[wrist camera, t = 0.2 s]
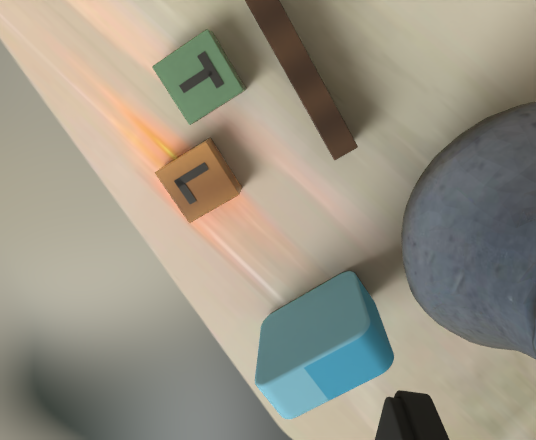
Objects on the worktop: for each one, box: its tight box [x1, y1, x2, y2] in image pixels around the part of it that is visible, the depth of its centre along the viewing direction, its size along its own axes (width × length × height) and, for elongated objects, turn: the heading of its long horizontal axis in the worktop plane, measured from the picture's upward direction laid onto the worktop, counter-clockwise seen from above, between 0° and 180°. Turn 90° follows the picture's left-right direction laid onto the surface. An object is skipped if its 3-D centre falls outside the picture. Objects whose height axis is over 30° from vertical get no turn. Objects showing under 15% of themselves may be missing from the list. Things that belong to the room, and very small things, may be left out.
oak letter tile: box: [155, 138, 242, 223], centre depth 43 cm, size 6×6×3 cm
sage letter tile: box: [153, 29, 246, 125], centre depth 40 cm, size 6×6×3 cm
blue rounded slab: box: [255, 271, 394, 419], centre depth 43 cm, size 12×4×12 cm, turn 124°
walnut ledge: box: [245, 0, 358, 160], centre depth 39 cm, size 16×2×4 cm, turn 31°
